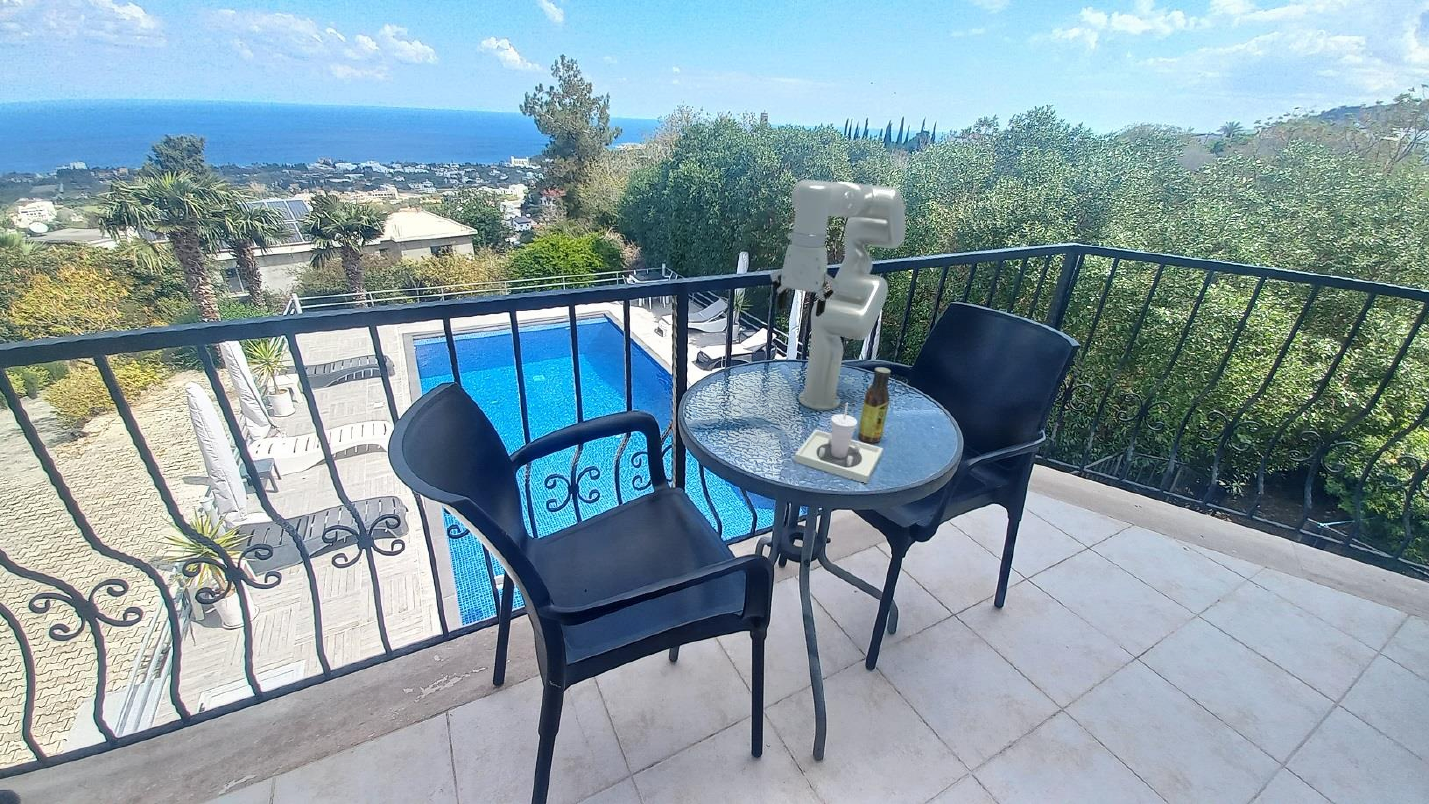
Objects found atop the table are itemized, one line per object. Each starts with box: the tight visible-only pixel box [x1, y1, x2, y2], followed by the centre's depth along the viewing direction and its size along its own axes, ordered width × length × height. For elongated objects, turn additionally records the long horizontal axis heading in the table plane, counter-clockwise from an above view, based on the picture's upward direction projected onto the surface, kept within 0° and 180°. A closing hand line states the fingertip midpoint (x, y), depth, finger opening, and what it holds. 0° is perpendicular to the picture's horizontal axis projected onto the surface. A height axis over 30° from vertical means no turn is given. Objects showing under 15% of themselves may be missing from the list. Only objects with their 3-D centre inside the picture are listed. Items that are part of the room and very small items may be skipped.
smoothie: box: [830, 402, 858, 458], centre depth 132 cm, size 6×6×14 cm
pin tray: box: [793, 428, 884, 484], centre depth 134 cm, size 15×18×4 cm
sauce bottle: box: [857, 366, 892, 444], centre depth 141 cm, size 7×6×20 cm
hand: (800, 311), depth 133 cm, fingers open, 9 cm apart
